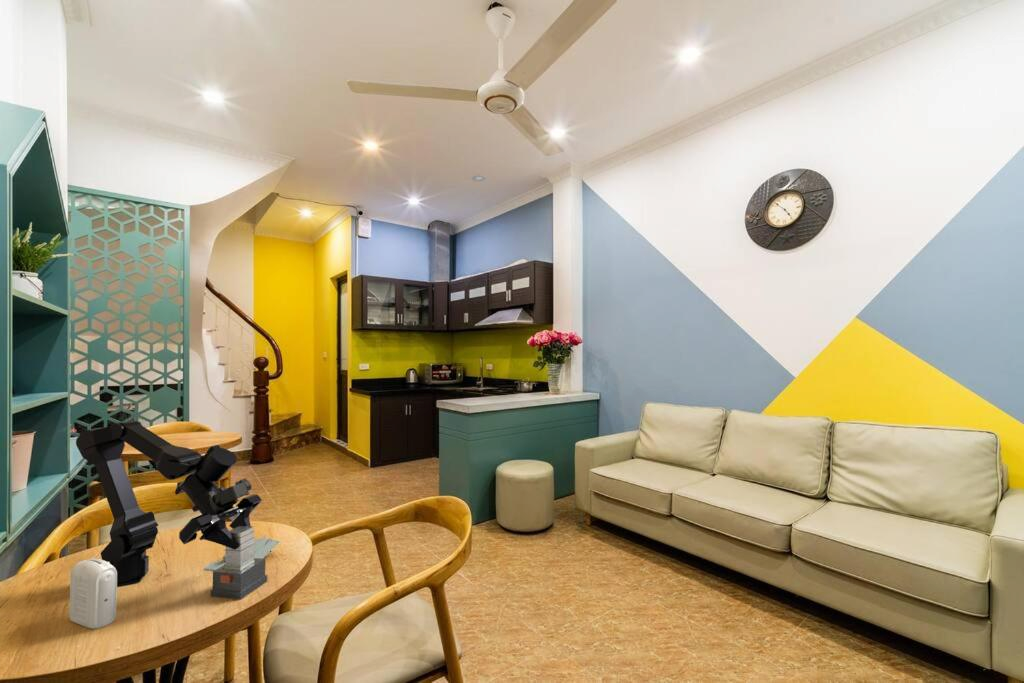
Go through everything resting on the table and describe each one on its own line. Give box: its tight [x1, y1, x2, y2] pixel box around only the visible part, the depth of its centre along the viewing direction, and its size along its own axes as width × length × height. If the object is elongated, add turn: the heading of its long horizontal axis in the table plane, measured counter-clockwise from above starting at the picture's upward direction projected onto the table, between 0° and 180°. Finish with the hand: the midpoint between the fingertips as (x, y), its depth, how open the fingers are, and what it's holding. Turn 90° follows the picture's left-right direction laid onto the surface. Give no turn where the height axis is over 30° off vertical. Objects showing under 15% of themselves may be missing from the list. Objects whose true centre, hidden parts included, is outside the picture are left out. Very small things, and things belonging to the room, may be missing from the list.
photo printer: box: [68, 558, 118, 630], centre depth 91 cm, size 10×4×12 cm, turn 69°
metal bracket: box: [203, 534, 281, 573], centre depth 116 cm, size 14×6×15 cm
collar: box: [209, 558, 268, 600], centre depth 102 cm, size 8×8×6 cm
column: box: [224, 525, 255, 571], centre depth 102 cm, size 4×4×9 cm
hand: (244, 543), depth 102 cm, fingers closed on column, 4 cm apart
